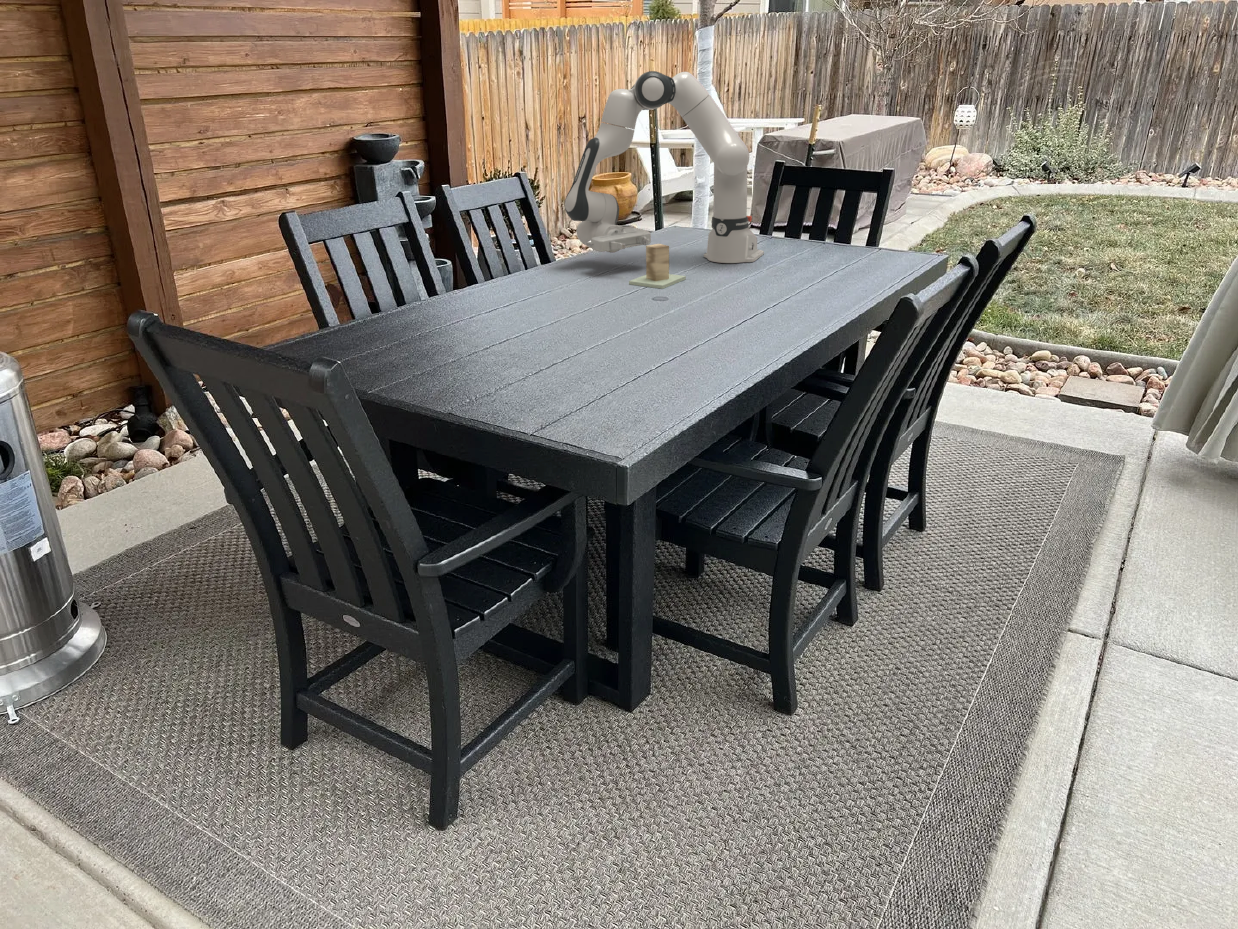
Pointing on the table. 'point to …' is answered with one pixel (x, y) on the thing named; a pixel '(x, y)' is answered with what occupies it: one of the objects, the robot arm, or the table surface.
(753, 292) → the table surface
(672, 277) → the sage mat
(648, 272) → the oak block
